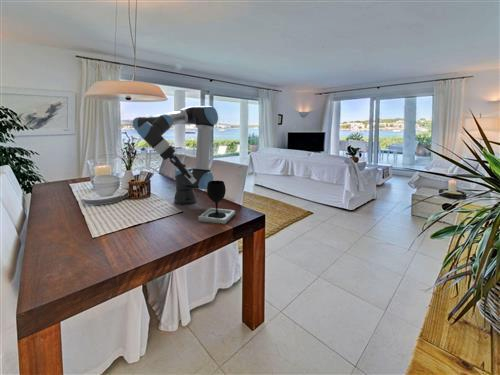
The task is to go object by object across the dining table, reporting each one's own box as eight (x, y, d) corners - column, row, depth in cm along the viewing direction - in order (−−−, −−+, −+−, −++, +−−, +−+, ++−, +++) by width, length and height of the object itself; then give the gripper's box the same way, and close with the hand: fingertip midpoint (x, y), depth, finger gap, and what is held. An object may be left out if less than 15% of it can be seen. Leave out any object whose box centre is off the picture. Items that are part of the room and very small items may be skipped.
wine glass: (227, 213, 148) (227, 180, 143) (224, 219, 138) (223, 184, 133) (210, 212, 149) (209, 179, 144) (205, 218, 139) (204, 184, 134)
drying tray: (210, 211, 153) (210, 207, 153) (234, 214, 149) (234, 210, 148) (198, 220, 138) (198, 216, 138) (225, 224, 134) (225, 219, 133)
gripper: (159, 151, 138) (185, 179, 146) (158, 158, 115) (190, 189, 124) (169, 143, 138) (195, 170, 147) (171, 147, 116) (201, 179, 124)
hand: (193, 179), depth 135 cm, fingers open, 13 cm apart
